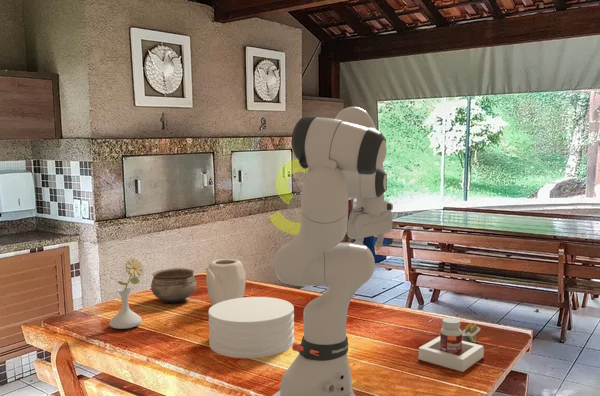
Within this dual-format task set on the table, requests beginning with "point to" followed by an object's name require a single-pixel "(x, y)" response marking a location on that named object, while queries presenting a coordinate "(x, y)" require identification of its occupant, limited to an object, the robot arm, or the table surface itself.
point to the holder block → (451, 355)
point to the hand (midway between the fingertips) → (370, 249)
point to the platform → (470, 333)
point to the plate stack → (251, 327)
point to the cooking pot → (173, 284)
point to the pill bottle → (451, 336)
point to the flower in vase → (127, 316)
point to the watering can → (225, 280)
